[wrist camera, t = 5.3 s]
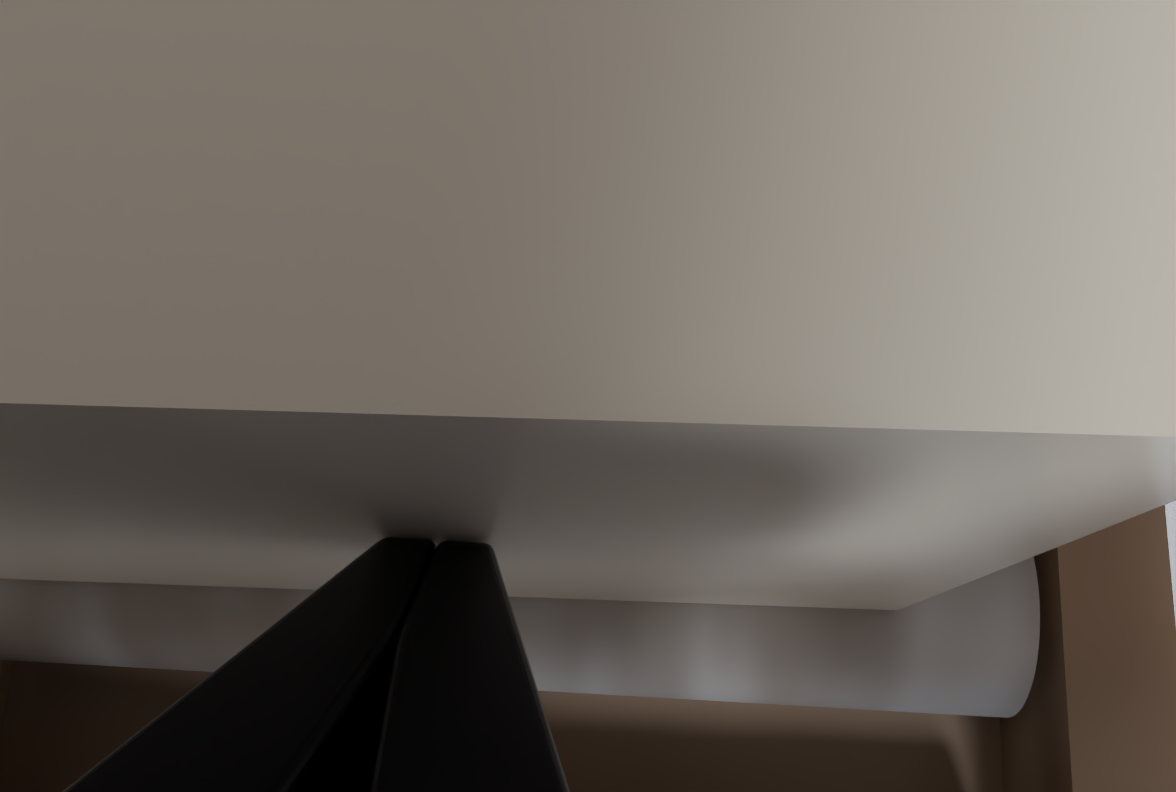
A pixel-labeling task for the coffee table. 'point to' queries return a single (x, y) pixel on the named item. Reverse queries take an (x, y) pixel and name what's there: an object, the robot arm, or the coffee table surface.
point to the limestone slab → (584, 289)
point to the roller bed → (770, 741)
